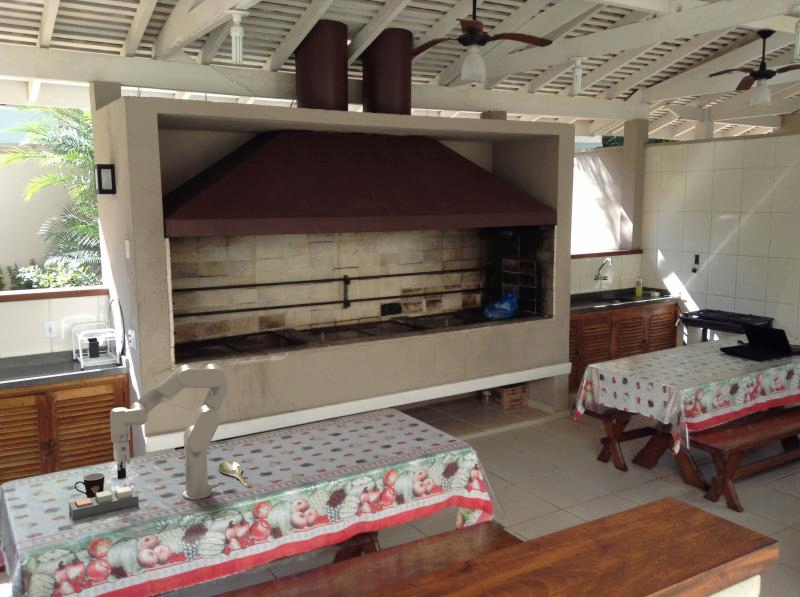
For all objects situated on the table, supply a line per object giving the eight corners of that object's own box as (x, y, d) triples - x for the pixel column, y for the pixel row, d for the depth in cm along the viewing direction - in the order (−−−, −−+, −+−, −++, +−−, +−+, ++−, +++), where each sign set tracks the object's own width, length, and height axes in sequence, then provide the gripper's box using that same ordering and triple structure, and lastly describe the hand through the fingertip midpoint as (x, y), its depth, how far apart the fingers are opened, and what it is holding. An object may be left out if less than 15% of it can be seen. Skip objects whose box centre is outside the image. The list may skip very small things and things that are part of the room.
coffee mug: (108, 494, 320) (107, 472, 319) (101, 502, 311) (100, 480, 310) (82, 494, 320) (81, 473, 318) (74, 502, 311) (73, 480, 310)
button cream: (128, 495, 312) (128, 486, 311) (131, 499, 307) (131, 490, 307) (115, 497, 309) (115, 489, 308) (118, 502, 304) (118, 493, 304)
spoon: (260, 489, 331) (260, 485, 330) (238, 494, 325) (238, 490, 325) (234, 462, 360) (234, 458, 359) (214, 466, 354) (213, 462, 354)
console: (133, 498, 315) (132, 489, 314) (138, 506, 308) (138, 496, 307) (69, 512, 300) (68, 502, 300) (73, 520, 293) (72, 510, 292)
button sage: (109, 499, 307) (108, 490, 307) (112, 503, 303) (111, 494, 302) (95, 502, 304) (95, 493, 304) (98, 506, 300) (98, 497, 299)
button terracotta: (89, 506, 303) (89, 497, 303) (92, 511, 299) (91, 502, 298) (75, 509, 300) (75, 500, 300) (78, 514, 296) (77, 505, 295)
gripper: (134, 439, 301) (135, 481, 303) (125, 430, 313) (126, 471, 315) (115, 442, 296) (116, 485, 299) (107, 433, 309) (108, 474, 311)
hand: (121, 478), depth 307 cm, fingers closed
